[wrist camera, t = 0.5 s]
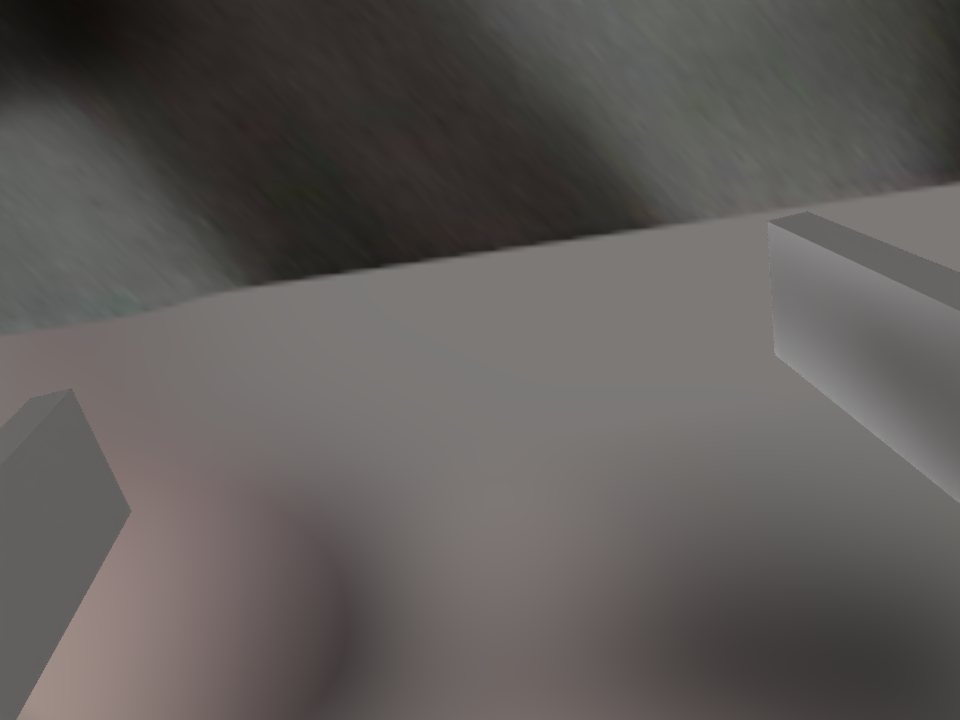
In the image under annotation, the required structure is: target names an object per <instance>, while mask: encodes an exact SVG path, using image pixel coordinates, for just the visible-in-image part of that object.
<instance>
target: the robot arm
mask: <svg viewBox="0 0 960 720" xmlns="http://www.w3.org/2000/svg"><path fill="white" fill-rule="evenodd" d="M767 224H768V242H769V259H770V277H771V295H772V311H773V312H772V313H773V331H774V348H775V355H776V356H777V357H779V358H780V359H781V360H783V361H784V362H785V363H786V364H787V365H789V366H790V367H791V368H792V369H794V370H795V371H796V372H797V373H798V374H800V375H801V376H802V377H803V378H805V379H806V380H807V381H809V382H810V383H811V384H812V385H813V386H815V387H816V388H817V389H818V390H820V391H821V392H822V393H823V394H825V395H826V396H827V397H828V398H830V399H831V400H832V401H833V402H835V403H836V404H837V405H838V406H840V407H841V408H842V409H843V410H845V411H846V412H847V413H848V414H850V415H851V416H852V417H853V418H855V419H856V420H857V421H858V422H859V423H861V424H862V425H863V426H864V427H866V428H867V429H868V430H869V431H871V432H872V433H873V434H874V435H876V436H877V437H878V438H879V439H881V440H882V441H883V442H884V443H886V444H887V445H888V446H889V447H890V448H892V449H893V450H894V451H895V452H897V453H898V454H899V455H900V456H902V457H903V458H904V459H905V460H907V461H908V462H909V463H910V464H912V465H913V466H914V467H915V468H917V469H918V470H919V471H920V472H922V473H923V474H924V475H925V476H927V477H928V478H929V479H930V480H931V481H933V482H934V483H935V484H937V485H938V486H939V487H940V488H941V489H943V490H944V491H945V492H946V493H948V494H949V495H950V496H951V497H953V498H954V499H955V500H956V501H958V502H959V503H960V273H959V272H957V271H955V270H952V269H949V268H947V267H944V266H942V265H939V264H937V263H934V262H932V261H929V260H927V259H924V258H922V257H919V256H917V255H914V254H912V253H909V252H907V251H904V250H902V249H899V248H897V247H894V246H892V245H889V244H887V243H884V242H882V241H879V240H877V239H874V238H872V237H869V236H867V235H864V234H862V233H859V232H857V231H854V230H852V229H849V228H847V227H844V226H842V225H839V224H837V223H834V222H832V221H829V220H827V219H824V218H822V217H819V216H817V215H814V214H812V213H809V212H804V213H799V214H795V215H791V216H787V217H783V218H779V219H775V220H771V221H768V222H767ZM130 513H131V509H130V507H129V505H128V503H127V501H126V499H125V497H124V495H123V493H122V491H121V489H120V487H119V485H118V483H117V481H116V479H115V476H114V474H113V472H112V470H111V468H110V467H109V464H108V462H107V460H106V458H105V456H104V454H103V452H102V450H101V448H100V446H99V444H98V442H97V440H96V438H95V435H94V433H93V431H92V429H91V427H90V425H89V423H88V421H87V419H86V417H85V415H84V413H83V411H82V409H81V407H80V405H79V403H78V401H77V399H76V397H75V395H74V393H73V390H72V389H68V390H64V391H59V392H55V393H51V394H47V395H43V396H39V397H35V398H30V399H29V400H28V401H27V402H26V403H25V404H24V405H23V406H22V407H21V408H20V409H19V410H18V411H17V412H16V413H15V414H14V415H13V416H12V417H11V418H10V419H9V420H8V421H7V422H6V423H5V424H4V425H3V426H2V427H1V428H0V720H16V719H17V717H18V715H19V714H20V712H21V710H22V708H23V706H24V705H25V703H26V701H27V699H28V697H29V696H30V694H31V692H32V690H33V688H34V687H35V685H36V683H37V681H38V679H39V678H40V676H41V674H42V672H43V670H44V668H45V667H46V665H47V663H48V661H49V659H50V658H51V656H52V654H53V652H54V650H55V649H56V647H57V645H58V643H59V641H60V640H61V638H62V636H63V634H64V632H65V630H66V629H67V627H68V625H69V623H70V622H71V620H72V618H73V616H74V614H75V612H76V611H77V609H78V607H79V605H80V604H81V602H82V600H83V598H84V596H85V595H86V593H87V591H88V589H89V587H90V585H91V583H92V582H93V580H94V578H95V576H96V574H97V573H98V571H99V569H100V567H101V566H102V564H103V562H104V560H105V558H106V556H107V555H108V553H109V551H110V549H111V548H112V545H113V544H114V542H115V540H116V539H117V537H118V535H119V533H120V531H121V529H122V528H123V526H124V524H125V522H126V520H127V518H128V517H129V515H130Z"/></svg>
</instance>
